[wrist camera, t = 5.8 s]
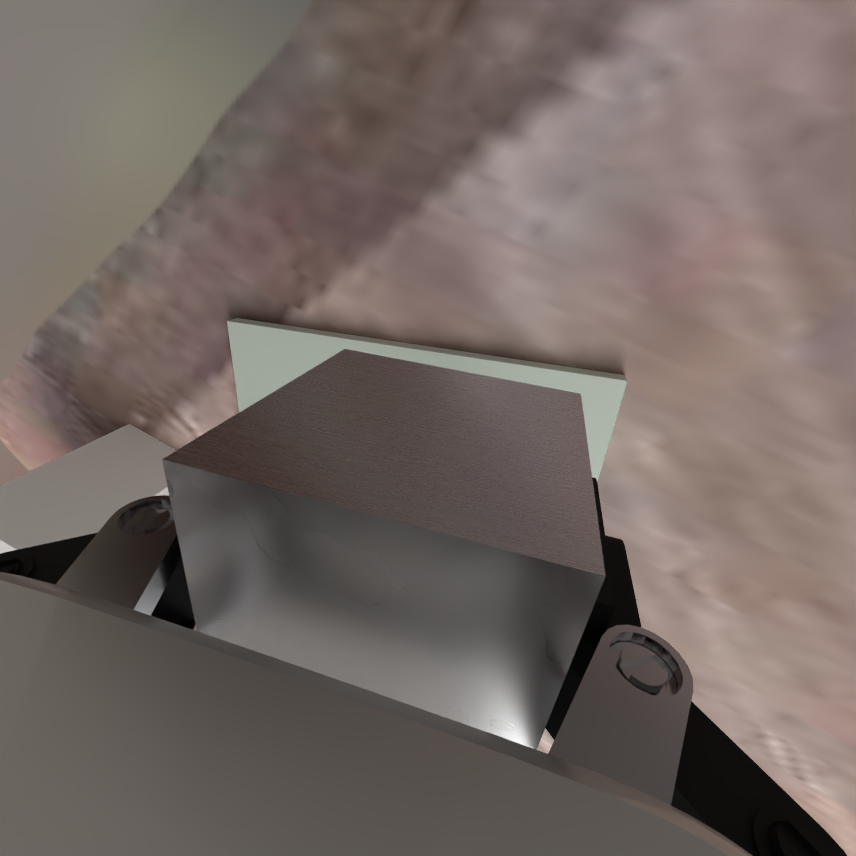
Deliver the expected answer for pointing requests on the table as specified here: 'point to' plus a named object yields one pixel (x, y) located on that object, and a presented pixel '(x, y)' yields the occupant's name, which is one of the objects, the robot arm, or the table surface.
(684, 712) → the robot arm
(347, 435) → the brushed aluminum cube
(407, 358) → the board
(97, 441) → the corner bracket
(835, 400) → the table surface
